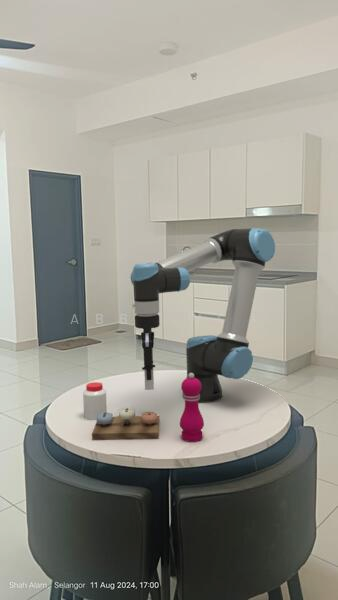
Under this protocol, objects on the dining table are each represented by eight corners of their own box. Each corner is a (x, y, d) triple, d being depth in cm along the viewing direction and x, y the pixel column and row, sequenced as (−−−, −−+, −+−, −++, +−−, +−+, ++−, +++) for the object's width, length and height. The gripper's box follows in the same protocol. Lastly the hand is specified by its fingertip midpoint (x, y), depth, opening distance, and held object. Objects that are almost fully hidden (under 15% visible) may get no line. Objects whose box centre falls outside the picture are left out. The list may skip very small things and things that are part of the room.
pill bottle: (88, 421, 161) (86, 389, 159) (81, 414, 167) (79, 383, 166) (110, 417, 164) (109, 385, 163) (102, 410, 171) (101, 380, 170)
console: (159, 421, 159) (159, 415, 159) (158, 438, 145) (158, 432, 145) (98, 422, 159) (98, 416, 159) (92, 440, 145) (91, 433, 145)
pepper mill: (178, 433, 149) (177, 370, 147) (202, 432, 150) (201, 369, 147) (181, 443, 142) (180, 376, 140) (205, 441, 143) (205, 375, 140)
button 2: (135, 420, 155) (135, 407, 154) (134, 426, 150) (134, 412, 149) (119, 420, 155) (119, 407, 154) (118, 426, 150) (118, 412, 149)
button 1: (157, 424, 155) (157, 410, 154) (157, 430, 150) (157, 416, 149) (142, 424, 155) (141, 411, 154) (141, 430, 150) (140, 416, 149)
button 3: (113, 424, 155) (113, 411, 154) (112, 431, 150) (111, 417, 149) (98, 425, 155) (97, 411, 154) (95, 431, 150) (95, 417, 149)
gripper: (135, 311, 154) (138, 383, 157) (133, 318, 141) (136, 396, 145) (159, 310, 154) (161, 382, 157) (158, 317, 141) (161, 395, 145)
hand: (149, 388), depth 151 cm, fingers closed
